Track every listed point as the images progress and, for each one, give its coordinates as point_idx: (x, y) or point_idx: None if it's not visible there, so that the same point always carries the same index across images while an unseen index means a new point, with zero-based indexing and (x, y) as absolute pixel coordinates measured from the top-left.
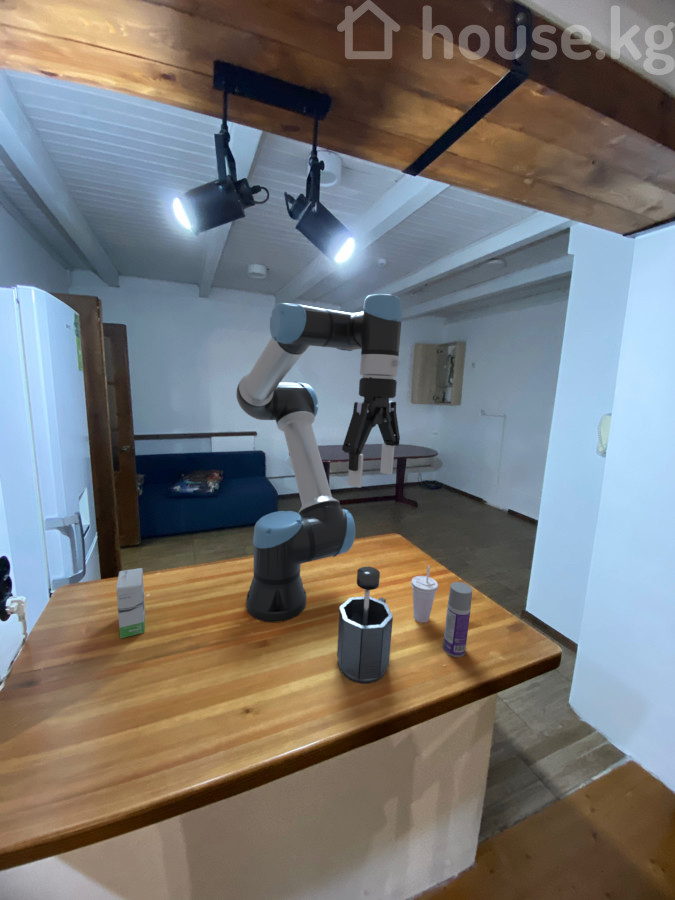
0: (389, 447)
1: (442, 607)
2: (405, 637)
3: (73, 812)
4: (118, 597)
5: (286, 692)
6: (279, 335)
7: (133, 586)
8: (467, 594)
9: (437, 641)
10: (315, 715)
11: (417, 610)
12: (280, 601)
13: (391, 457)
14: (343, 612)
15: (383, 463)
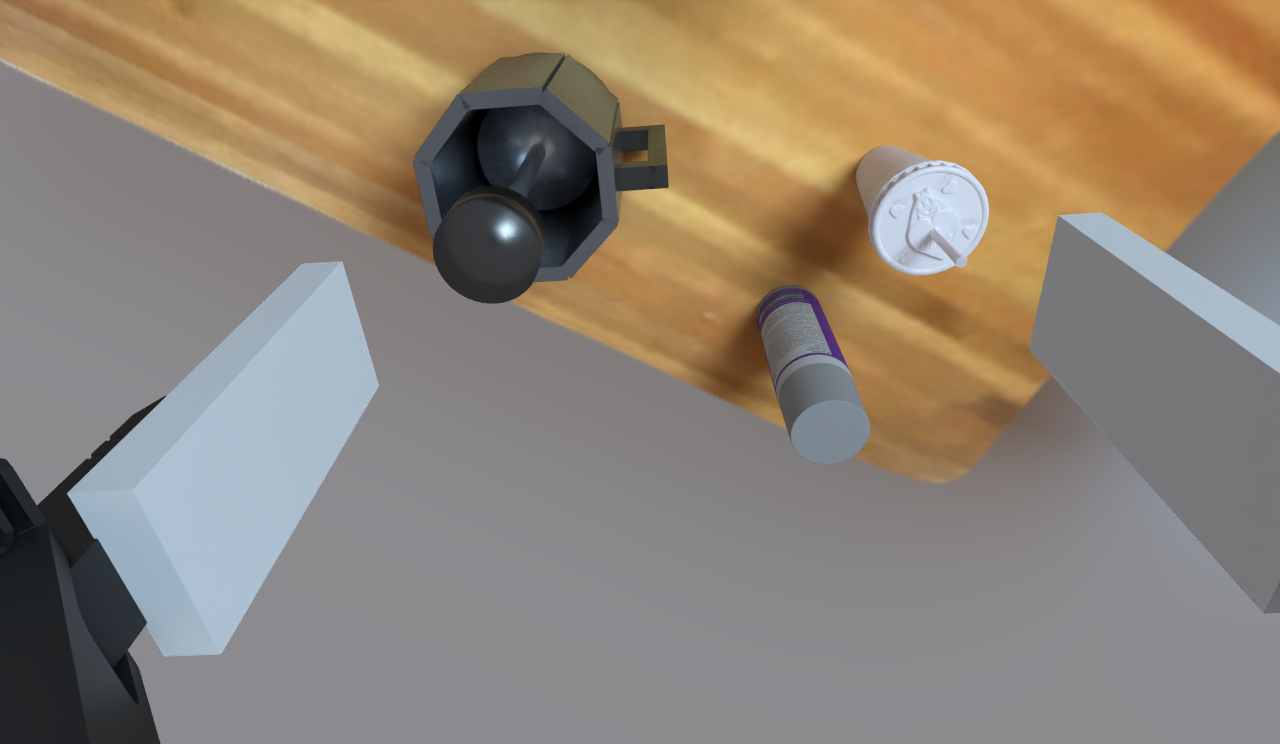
0: (1265, 543)
1: (994, 206)
2: (746, 179)
3: None
4: None
5: (289, 24)
6: None
7: None
8: (802, 456)
9: (793, 265)
10: (316, 144)
11: (862, 183)
12: None
13: (1149, 470)
14: (444, 129)
15: (1118, 307)
